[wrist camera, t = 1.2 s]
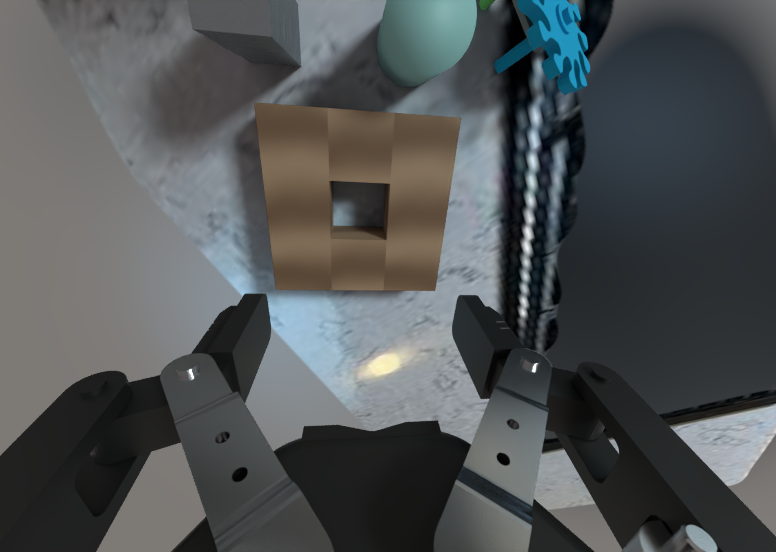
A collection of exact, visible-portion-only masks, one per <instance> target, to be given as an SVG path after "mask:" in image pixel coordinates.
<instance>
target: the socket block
mask: <svg viewBox="0 0 776 552" xmlns="http://www.w3.org/2000/svg"><path fill="white" fill-rule="evenodd" d="M254 107H255V115H256V124H257V132H258V141H259V149H260V158H261V166H262V175H263V183H264V192H265V201H266V209H267V218H268V226H269V235H270V243H271V252H272V260H273V269H274V277H275V286H276V290H393V291H435V288H436V282H437V275H438V268H439V262H440V255H441V248H442V242H443V235H444V229H445V222H446V215H447V209H448V202H449V195H450V189H451V182H452V175H453V169H454V162H455V155H456V149H457V142H458V135H459V129H460V122H461V118H456V117H443V116H429V115H416V114H402V113H389V112H375V111H361V110H348V109H334V108H321V107H307V106H294V105H280V104H266V103H254ZM333 181H345V182H367V183H386V187H385V204H384V222H383V227H357V226H333Z"/></svg>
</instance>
